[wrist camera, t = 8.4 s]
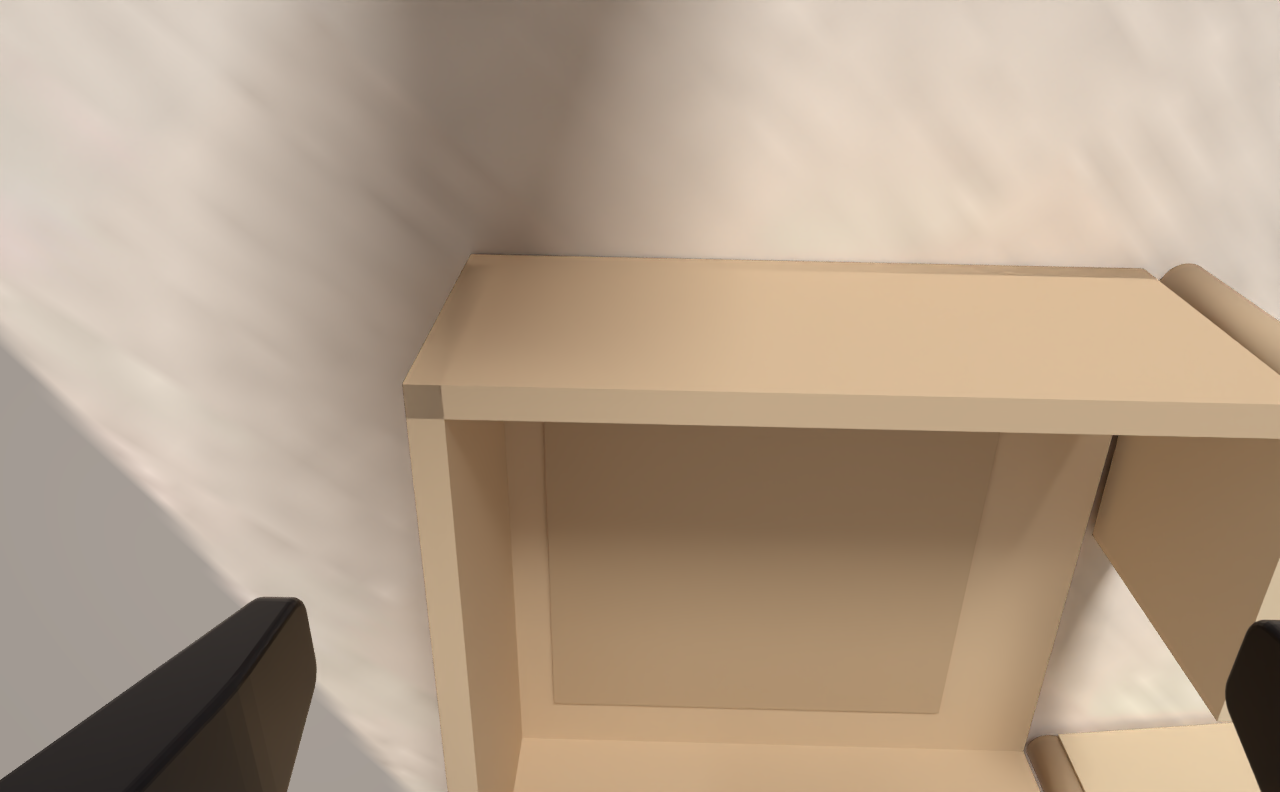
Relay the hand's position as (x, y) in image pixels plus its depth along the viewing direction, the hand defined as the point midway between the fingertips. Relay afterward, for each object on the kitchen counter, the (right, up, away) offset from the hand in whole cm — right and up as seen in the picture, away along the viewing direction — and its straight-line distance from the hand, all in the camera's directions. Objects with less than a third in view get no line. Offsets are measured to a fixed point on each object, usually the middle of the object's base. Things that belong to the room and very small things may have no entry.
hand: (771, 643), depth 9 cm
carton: (+2, -1, +14) cm, 14 cm away
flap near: (+10, +2, +12) cm, 16 cm away
